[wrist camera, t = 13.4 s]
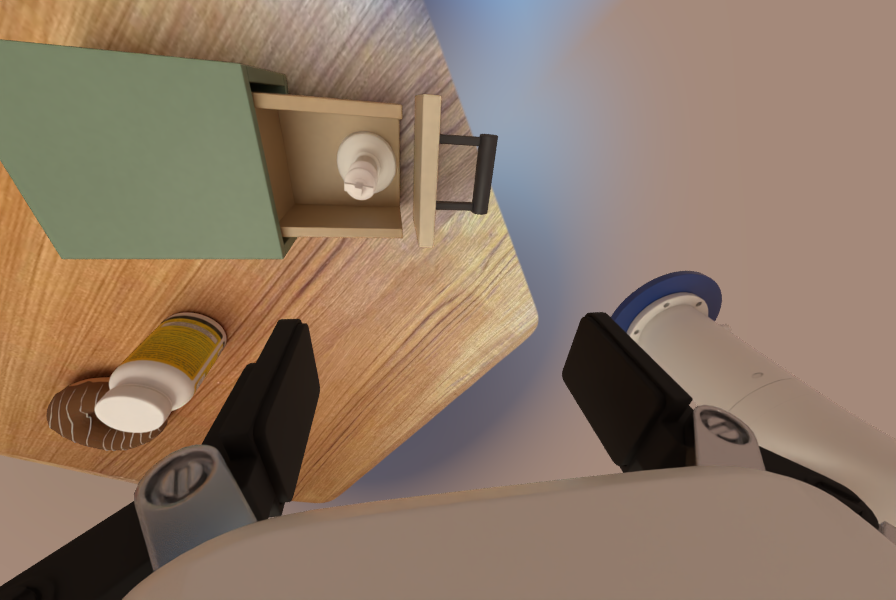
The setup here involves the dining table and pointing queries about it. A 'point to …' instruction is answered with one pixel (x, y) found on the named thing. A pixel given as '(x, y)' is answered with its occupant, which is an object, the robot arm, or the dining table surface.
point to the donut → (90, 418)
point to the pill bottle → (161, 373)
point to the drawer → (320, 184)
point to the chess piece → (365, 164)
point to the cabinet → (139, 153)
